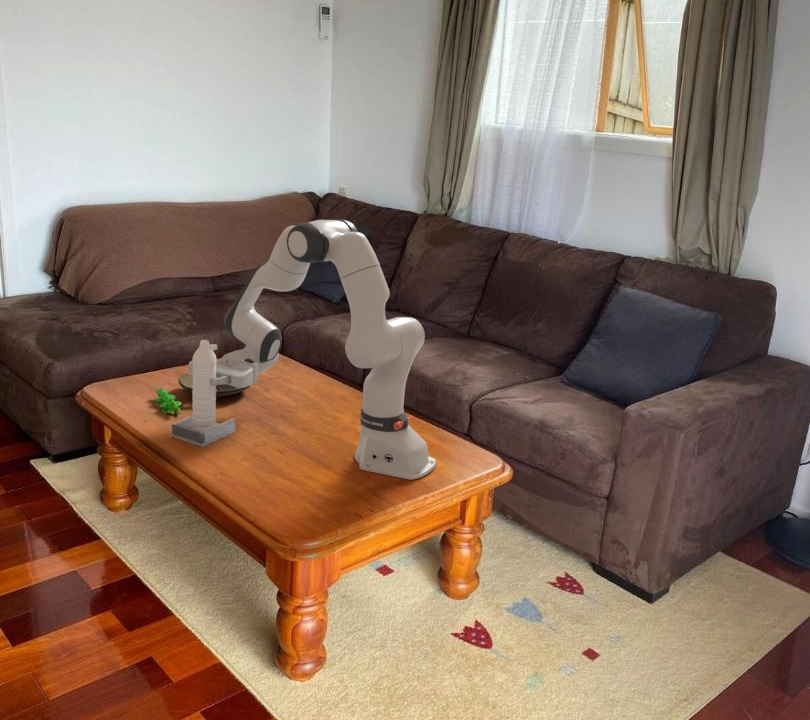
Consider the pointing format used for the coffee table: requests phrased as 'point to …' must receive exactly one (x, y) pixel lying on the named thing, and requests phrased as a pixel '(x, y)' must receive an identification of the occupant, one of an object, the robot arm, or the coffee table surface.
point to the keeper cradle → (201, 431)
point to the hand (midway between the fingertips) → (201, 379)
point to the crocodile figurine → (167, 402)
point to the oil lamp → (223, 388)
